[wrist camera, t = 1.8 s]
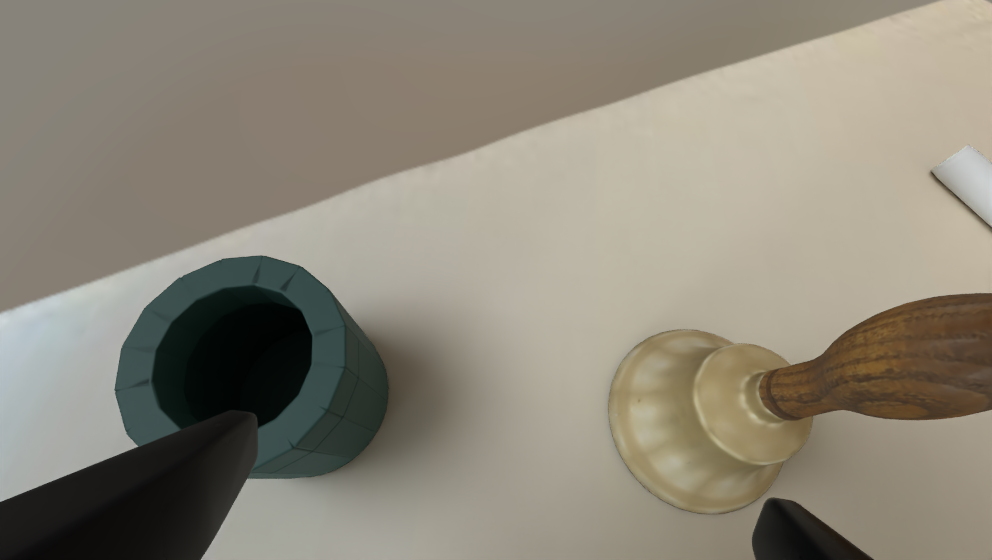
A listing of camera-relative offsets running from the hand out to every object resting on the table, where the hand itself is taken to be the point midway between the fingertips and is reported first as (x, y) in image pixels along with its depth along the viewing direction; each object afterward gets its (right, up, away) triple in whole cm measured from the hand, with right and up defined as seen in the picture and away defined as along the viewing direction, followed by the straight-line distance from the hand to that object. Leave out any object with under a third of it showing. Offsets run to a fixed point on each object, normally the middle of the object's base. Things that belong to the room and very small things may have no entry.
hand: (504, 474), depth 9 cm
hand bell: (+9, -3, +15) cm, 18 cm away
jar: (-9, -2, +14) cm, 17 cm away
